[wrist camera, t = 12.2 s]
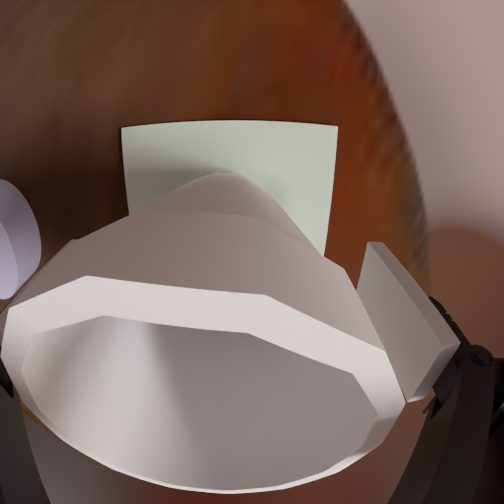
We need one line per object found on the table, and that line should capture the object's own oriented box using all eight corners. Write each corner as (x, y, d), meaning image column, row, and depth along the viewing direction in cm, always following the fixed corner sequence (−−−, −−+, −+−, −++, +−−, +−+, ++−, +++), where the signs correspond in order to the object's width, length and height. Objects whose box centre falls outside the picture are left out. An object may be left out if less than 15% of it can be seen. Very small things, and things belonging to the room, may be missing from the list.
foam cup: (132, 159, 15) (-55, 288, 3) (297, 134, 14) (465, 233, 3) (169, 297, 19) (115, 480, 8) (305, 283, 19) (356, 479, 7)
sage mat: (123, 127, 14) (121, 128, 14) (335, 126, 14) (337, 126, 14) (147, 300, 20) (145, 303, 19) (314, 302, 20) (315, 306, 20)
